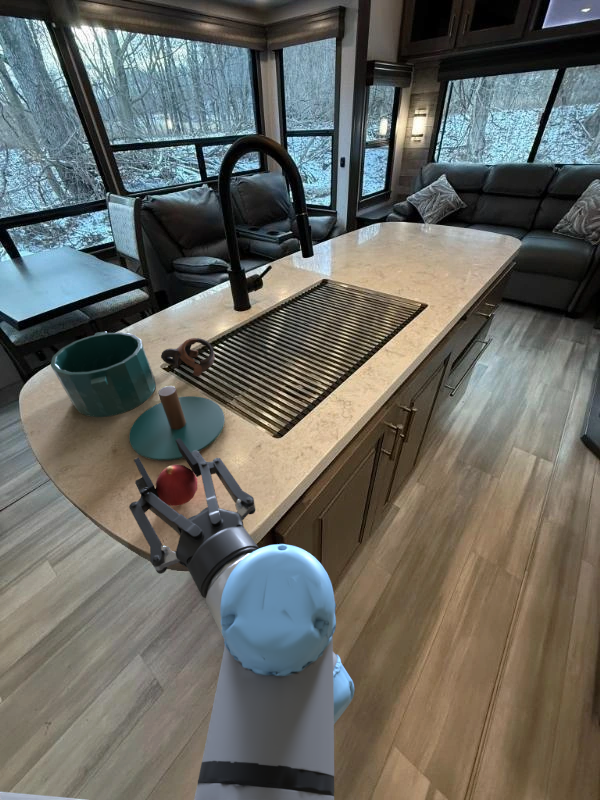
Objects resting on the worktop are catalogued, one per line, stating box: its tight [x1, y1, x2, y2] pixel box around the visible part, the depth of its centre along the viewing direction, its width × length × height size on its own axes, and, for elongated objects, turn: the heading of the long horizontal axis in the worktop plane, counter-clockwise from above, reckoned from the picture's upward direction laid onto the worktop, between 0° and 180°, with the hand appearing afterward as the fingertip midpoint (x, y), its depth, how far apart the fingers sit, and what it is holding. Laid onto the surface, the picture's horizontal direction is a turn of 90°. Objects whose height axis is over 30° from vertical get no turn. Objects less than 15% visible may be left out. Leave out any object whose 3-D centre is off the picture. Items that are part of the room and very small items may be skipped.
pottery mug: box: [160, 337, 215, 377], centre depth 79 cm, size 12×10×8 cm
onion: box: [155, 464, 198, 507], centre depth 49 cm, size 6×6×8 cm
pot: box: [50, 331, 157, 418], centre depth 71 cm, size 17×22×10 cm
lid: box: [128, 385, 226, 462], centre depth 62 cm, size 18×18×9 cm
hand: (160, 454), depth 51 cm, fingers closed on onion, 6 cm apart
